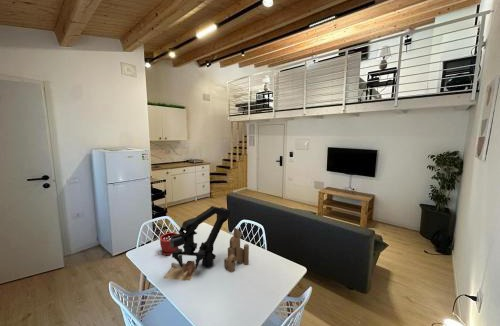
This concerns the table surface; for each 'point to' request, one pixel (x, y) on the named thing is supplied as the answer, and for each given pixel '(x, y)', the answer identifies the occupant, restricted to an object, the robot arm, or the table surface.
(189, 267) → the brown block with peg
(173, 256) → the robot arm
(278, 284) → the table surface
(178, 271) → the board
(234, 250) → the wooden toy
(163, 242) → the plant pot
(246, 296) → the table surface
